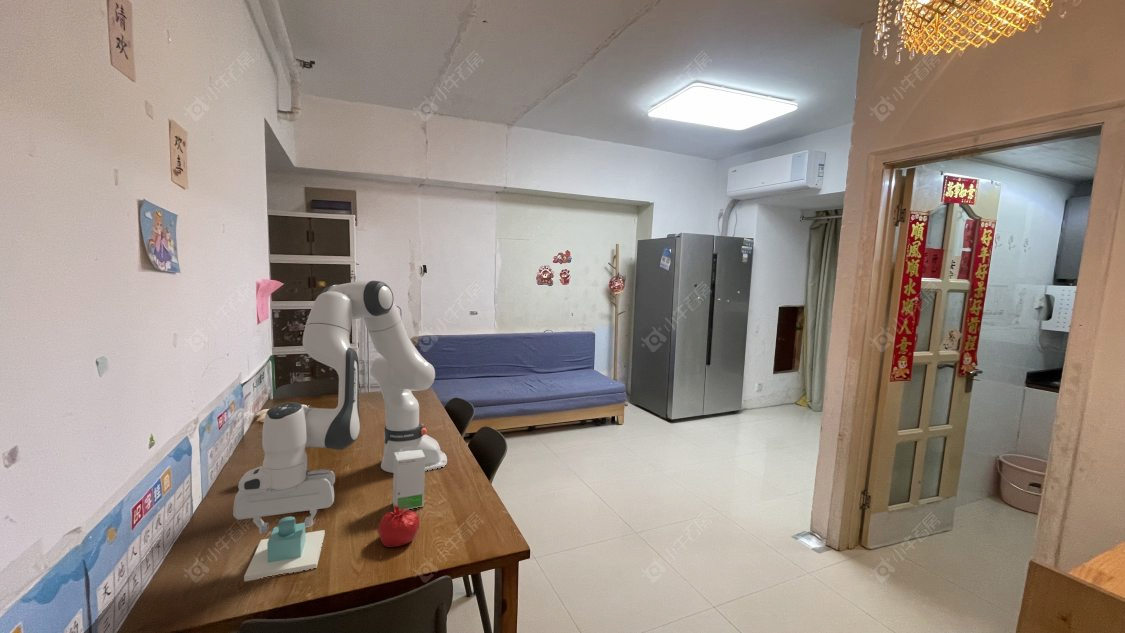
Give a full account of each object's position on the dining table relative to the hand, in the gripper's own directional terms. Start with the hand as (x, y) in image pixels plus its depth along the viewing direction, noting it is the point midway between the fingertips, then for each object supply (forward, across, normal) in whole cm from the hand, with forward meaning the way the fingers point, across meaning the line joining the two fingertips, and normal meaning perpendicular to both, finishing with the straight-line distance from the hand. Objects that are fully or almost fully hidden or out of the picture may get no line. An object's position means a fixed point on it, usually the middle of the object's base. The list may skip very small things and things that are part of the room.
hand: (286, 528), depth 105 cm
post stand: (+7, 0, 0) cm, 7 cm away
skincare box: (+7, -28, -16) cm, 33 cm away
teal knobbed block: (+6, 0, 0) cm, 6 cm away
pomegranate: (+7, -25, +1) cm, 26 cm away
